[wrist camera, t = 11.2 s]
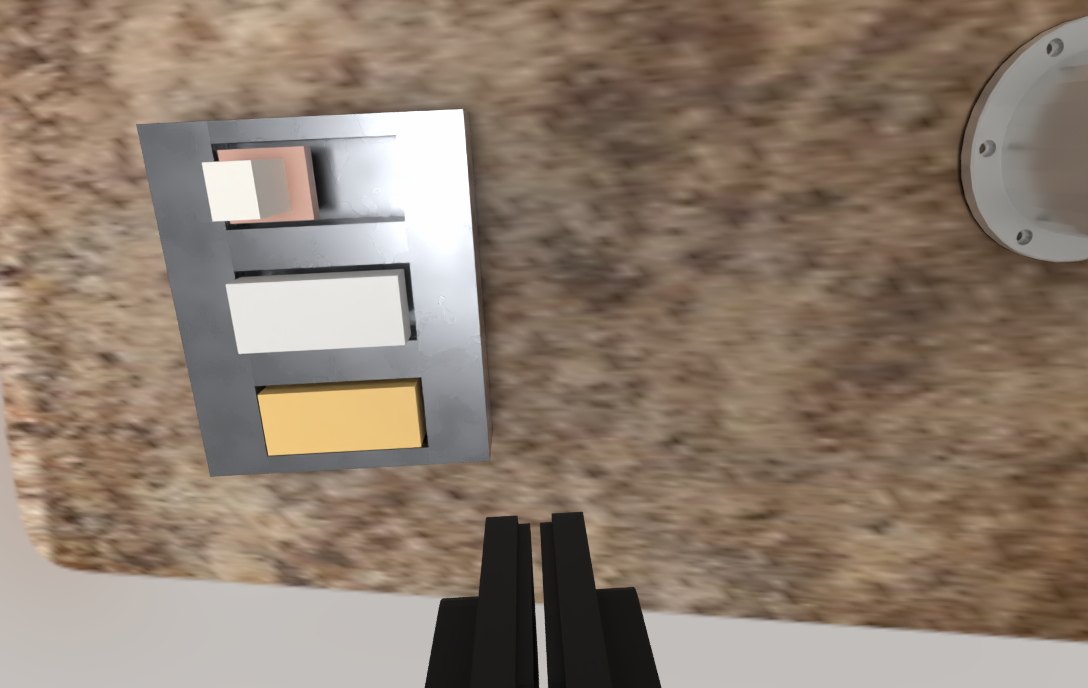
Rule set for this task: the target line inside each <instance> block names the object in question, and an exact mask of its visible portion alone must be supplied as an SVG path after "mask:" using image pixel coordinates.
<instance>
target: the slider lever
mask: <svg viewBox="0 0 1088 688" xmlns="http://www.w3.org/2000/svg"><path fill="white" fill-rule="evenodd" d="M217 152H218V157H219V162H203V163H202V167H203V173H204V178H205V183H206V189H207V194H208V199H209V205H210V210H211V216H212V221H230V224H236V223H257V222H277V221H297V220H315V219H317V218H320V214H319V207H318V200H317V192H316V185H315V178H314V171H313V164H312V157H311V150H310V146H296V147H275V148H254V149H232V150H217Z"/></svg>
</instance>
